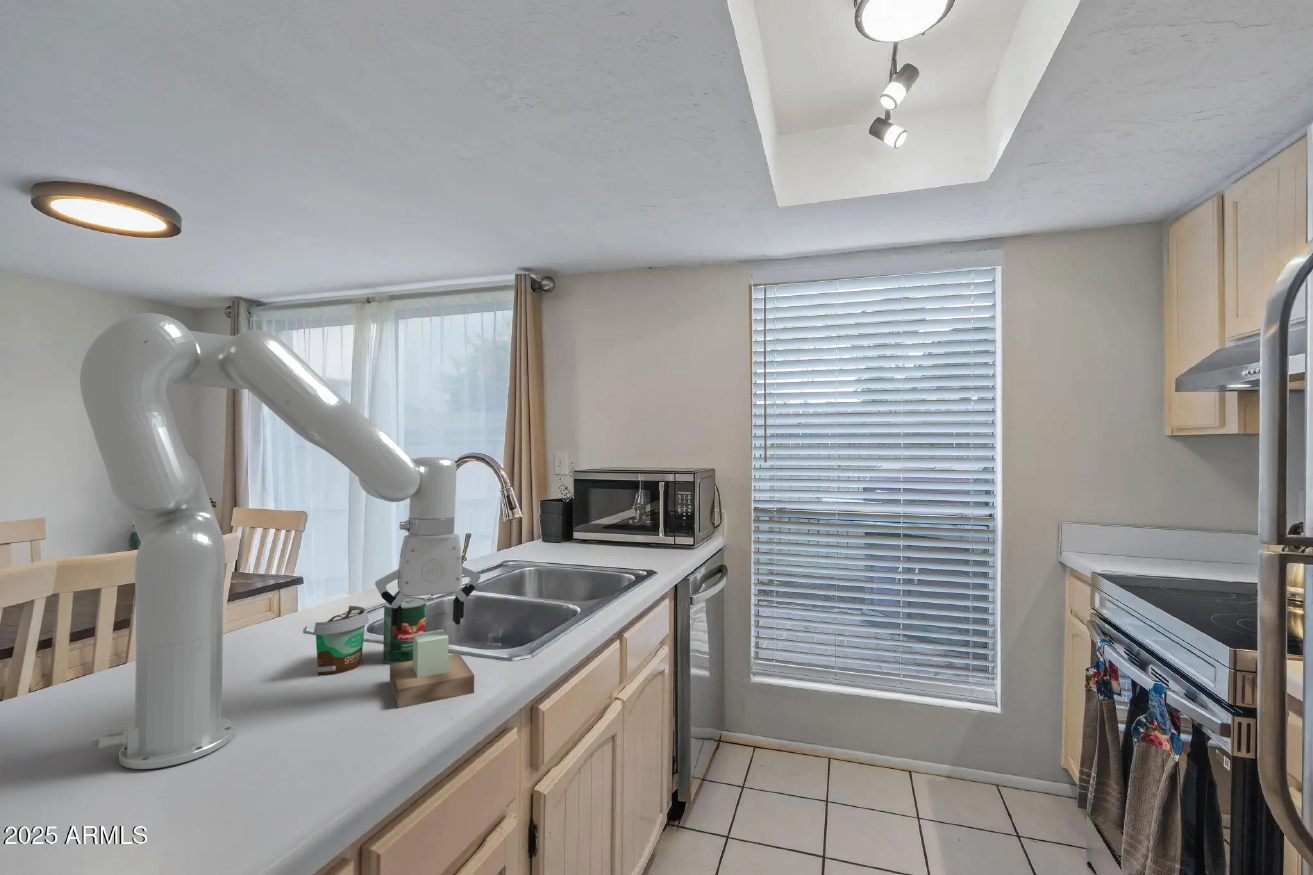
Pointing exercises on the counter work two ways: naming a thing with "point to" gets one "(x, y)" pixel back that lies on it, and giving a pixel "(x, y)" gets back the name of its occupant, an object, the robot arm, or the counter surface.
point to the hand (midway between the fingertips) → (427, 625)
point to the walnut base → (430, 682)
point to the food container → (340, 641)
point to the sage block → (430, 653)
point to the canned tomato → (403, 630)
